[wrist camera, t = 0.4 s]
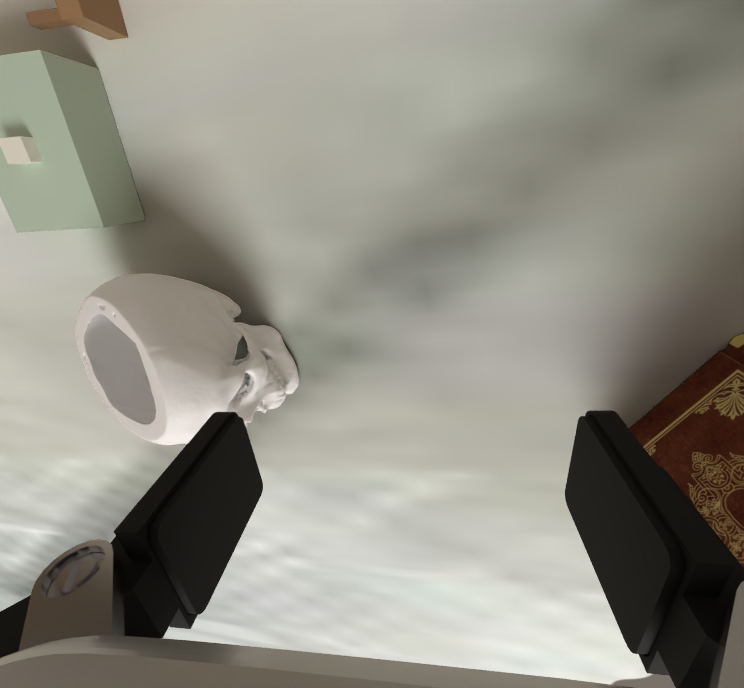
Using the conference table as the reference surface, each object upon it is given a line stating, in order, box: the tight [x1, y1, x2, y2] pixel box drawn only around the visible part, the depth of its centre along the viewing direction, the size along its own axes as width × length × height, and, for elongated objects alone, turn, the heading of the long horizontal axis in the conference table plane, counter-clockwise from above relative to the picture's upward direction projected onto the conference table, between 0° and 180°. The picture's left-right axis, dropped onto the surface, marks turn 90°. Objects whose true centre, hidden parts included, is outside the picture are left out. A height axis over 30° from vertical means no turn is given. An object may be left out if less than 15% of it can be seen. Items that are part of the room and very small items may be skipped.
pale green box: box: [0, 50, 145, 232], centre depth 36 cm, size 14×10×7 cm
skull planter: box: [75, 273, 299, 445], centre depth 41 cm, size 14×20×19 cm
